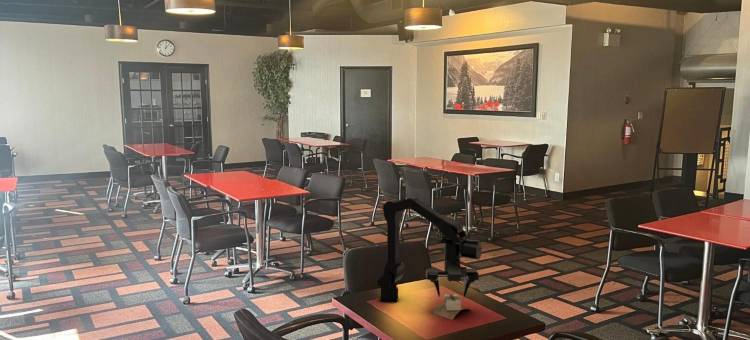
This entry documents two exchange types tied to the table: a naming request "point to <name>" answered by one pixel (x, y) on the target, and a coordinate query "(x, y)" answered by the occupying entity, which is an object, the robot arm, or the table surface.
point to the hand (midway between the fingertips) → (451, 296)
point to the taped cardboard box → (452, 302)
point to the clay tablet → (446, 311)
